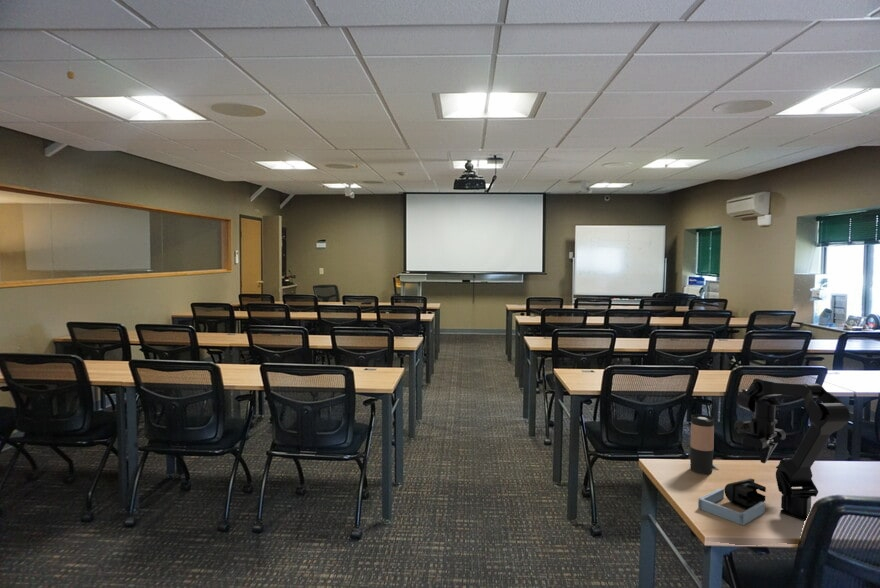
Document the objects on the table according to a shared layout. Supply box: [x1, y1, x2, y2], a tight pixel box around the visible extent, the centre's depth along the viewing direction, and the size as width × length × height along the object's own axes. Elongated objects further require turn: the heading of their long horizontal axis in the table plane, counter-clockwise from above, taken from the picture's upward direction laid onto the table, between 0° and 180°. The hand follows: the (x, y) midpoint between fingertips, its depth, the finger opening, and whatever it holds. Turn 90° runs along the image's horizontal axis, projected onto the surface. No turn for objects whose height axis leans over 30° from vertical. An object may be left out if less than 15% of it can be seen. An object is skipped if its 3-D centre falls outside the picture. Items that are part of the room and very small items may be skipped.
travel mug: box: [689, 413, 715, 475], centre depth 185 cm, size 8×8×20 cm
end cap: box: [723, 478, 767, 511], centre depth 159 cm, size 10×7×7 cm
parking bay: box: [697, 487, 766, 526], centre depth 154 cm, size 13×14×3 cm
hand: (763, 462), depth 166 cm, fingers closed
